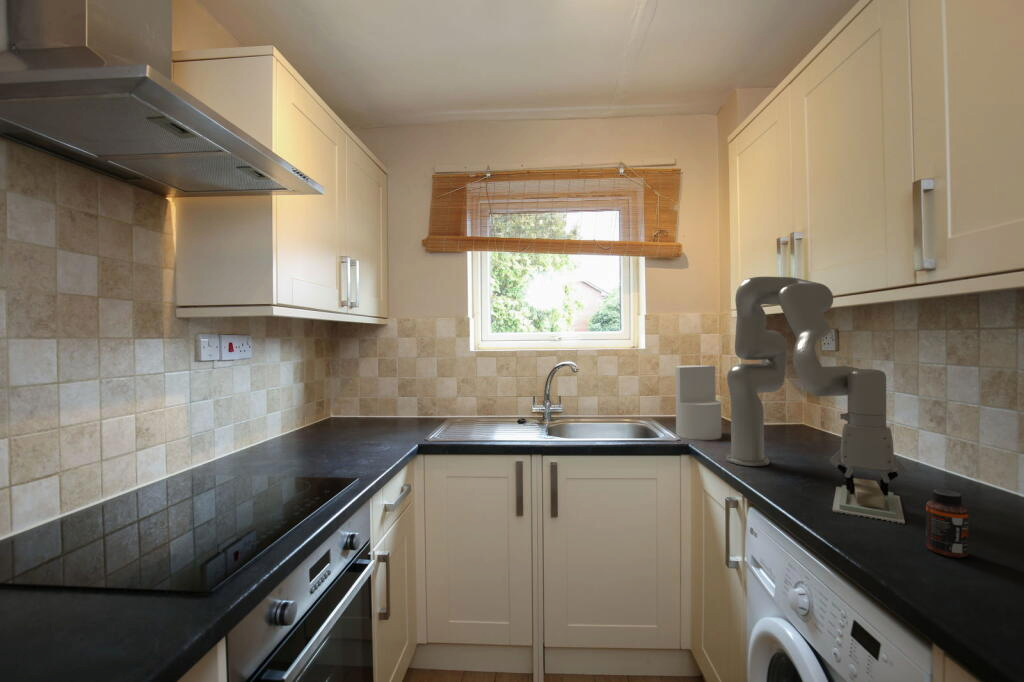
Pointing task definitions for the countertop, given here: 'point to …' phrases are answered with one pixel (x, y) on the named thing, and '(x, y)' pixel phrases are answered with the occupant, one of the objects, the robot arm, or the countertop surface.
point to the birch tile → (868, 493)
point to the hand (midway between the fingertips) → (866, 494)
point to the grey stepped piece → (697, 403)
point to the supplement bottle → (947, 524)
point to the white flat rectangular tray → (848, 505)
